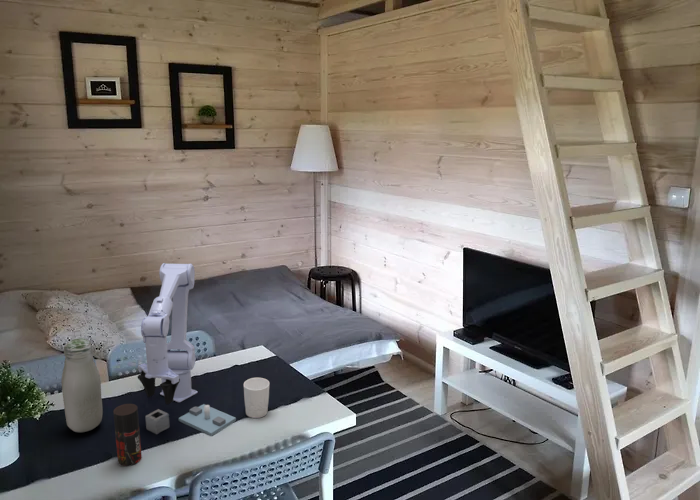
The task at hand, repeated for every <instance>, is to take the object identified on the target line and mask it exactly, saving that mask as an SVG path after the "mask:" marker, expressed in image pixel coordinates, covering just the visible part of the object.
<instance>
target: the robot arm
mask: <svg viewBox="0 0 700 500" xmlns="http://www.w3.org/2000/svg"><path fill="white" fill-rule="evenodd" d="M195 271H196V270H195V267H194V265H193V263H166V262H163V263H162V264H161V265H160V267H159V273H158V275H159V280H160V283H161V287H160V290H159V291H160V292H159V296H156V297H155V298H154V299H153V302H152V304H151V307H150V309H149V312H148V315H147V316H146V317H144V318H142V321H141V325H140V333H141V337H142V339H143V340H142V341H143V344H145V356H146V363H144V362H143V363H141V364H138V366H137V367H138V372H139V373H140V374H138V375H137V379H138V380H139V381H140V383H141V385H142V386H143V388H144V392H145V393H146V396H147V398H151V397H153V396H154V395H155V394H156V379H160V380H161V383H159V386H160V388H161V392H160V393H159V394H160V395H161V396H163V397H164V402H165V404H166V405H169V404H171V403H173V402H174V401H175V402H177V403H181V402H183V401H185V400H187V399H189V398H191V397H192V396H194V395H197V394H198V391H197V390H196V389H193V388H192V374H191V371H192V370H193V369H194V368H195V365H196V352H195V349H196V348H195V345H193V344H192V343H191V342H189V341H188V340H187V333H188V331H187V329H188V328H187V327H188V326H187V325H188V307H189V306H188V304H189V303H188V302H189V293H190V290H192V289H194V286H195V282H196V281H195V280H196V279H195V276H196V275H195V274H196V272H195ZM170 316H171V331H170V332H171V333H170V334H171V336H170V341H169V342H167V341H168V339H167V338H168V337H167V336H168V333H169V330H170Z"/></svg>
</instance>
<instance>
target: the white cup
mask: <svg viewBox="0 0 700 500" xmlns="http://www.w3.org/2000/svg"><path fill="white" fill-rule="evenodd" d="M243 396H244V397H243V398H244V407H245V415H246V416H247V417H248V418H252V419H260V418H263V417H265V416H266V415H267V414H268V409H269V408H268V407H269V399H270V381H269V380H268V379H266V378H263V377H251V378H248V379H247V380H245V381H244V382H243Z"/></svg>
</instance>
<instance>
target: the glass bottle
mask: <svg viewBox="0 0 700 500" xmlns="http://www.w3.org/2000/svg"><path fill="white" fill-rule="evenodd" d="M63 350H64V351H63V355H64V357H65V358H64V361H63V362H64V366H63V370H62V374H61V393H62V401H63V406H64V408H63V409H64V414H65V419H66V420H65V422H66V426H67V427H68V428H69V429H70V430H71V431H73V432H75V433H85V432H89V431H92V430H94V429H95V428H96V427H98V426H99V425H100V424H101V422H102V419H103V413H104V411H103V400H102V398H103V397H102V381H101V376H100V373H99V370H98V368H97V366H96V363H95V360H94V356H93V352H94V350H93V346H92V343H91V341H90V340H88V338H82V337H81V338H80V337H79V338H76V339H72V340H69V341H68V342H67V343H66V344H65V345H64V347H63Z"/></svg>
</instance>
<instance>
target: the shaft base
mask: <svg viewBox="0 0 700 500" xmlns="http://www.w3.org/2000/svg"><path fill="white" fill-rule="evenodd" d="M188 410H189V412H186V413H185V414H184V415H181V416H180V417H178V422H180V423H181V424H184V425H186V426H188V427H190V428H193V429H195V430H197V431H199V432H200V433H203V434H206V435H208V436H210V437H213V436H214V435H216V434H218V433H219V432H221V431H223V430H224V429H225V428H226V427H228V426H230V425H232V424H234V423H235V422H236V421H237V418H236V416H232V415H230V414H228V413H226V412H223V411H220V410H218V409H216V408H214V407H211V406H210V404H205V403H203V404H200V405H199V406H193V407H191V408H190V409H188Z"/></svg>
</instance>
